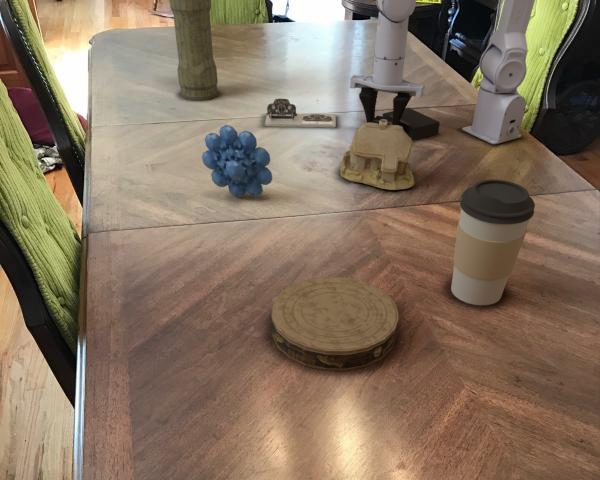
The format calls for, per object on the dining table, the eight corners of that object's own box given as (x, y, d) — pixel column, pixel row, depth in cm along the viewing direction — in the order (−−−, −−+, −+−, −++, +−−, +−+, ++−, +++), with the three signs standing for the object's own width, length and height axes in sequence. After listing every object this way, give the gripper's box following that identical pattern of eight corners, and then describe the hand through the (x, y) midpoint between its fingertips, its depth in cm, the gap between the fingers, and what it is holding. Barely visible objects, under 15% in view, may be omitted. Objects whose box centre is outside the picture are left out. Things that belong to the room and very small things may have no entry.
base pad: (437, 134, 128) (439, 121, 126) (411, 141, 125) (413, 128, 123) (407, 119, 134) (408, 107, 132) (381, 125, 131) (382, 112, 129)
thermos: (225, 100, 142) (210, -94, 118) (173, 101, 141) (148, -94, 117) (225, 87, 148) (211, -99, 124) (175, 88, 147) (152, -99, 123)
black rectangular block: (396, 133, 128) (398, 118, 126) (387, 143, 124) (389, 128, 122) (375, 130, 129) (377, 115, 127) (366, 140, 125) (367, 124, 123)
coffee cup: (462, 266, 90) (484, 166, 80) (520, 289, 86) (551, 185, 76) (431, 293, 85) (450, 189, 75) (491, 318, 81) (520, 212, 70)
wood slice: (246, 329, 79) (244, 310, 77) (331, 282, 87) (332, 263, 85) (336, 389, 71) (338, 370, 68) (421, 331, 79) (425, 312, 77)
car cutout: (264, 126, 130) (264, 103, 127) (266, 115, 135) (266, 93, 132) (335, 127, 130) (336, 105, 127) (335, 116, 135) (336, 94, 132)
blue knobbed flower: (201, 207, 103) (193, 134, 95) (208, 189, 108) (201, 118, 100) (270, 210, 102) (268, 137, 94) (274, 192, 107) (272, 121, 99)
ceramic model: (419, 169, 115) (427, 113, 108) (411, 194, 107) (419, 136, 100) (346, 160, 118) (349, 105, 111) (332, 184, 110) (335, 127, 103)
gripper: (432, 55, 117) (422, 128, 126) (360, 46, 121) (355, 118, 130) (422, 65, 112) (412, 140, 121) (348, 55, 116) (343, 129, 125)
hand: (382, 129), depth 125 cm, fingers closed on black rectangular block, 4 cm apart
